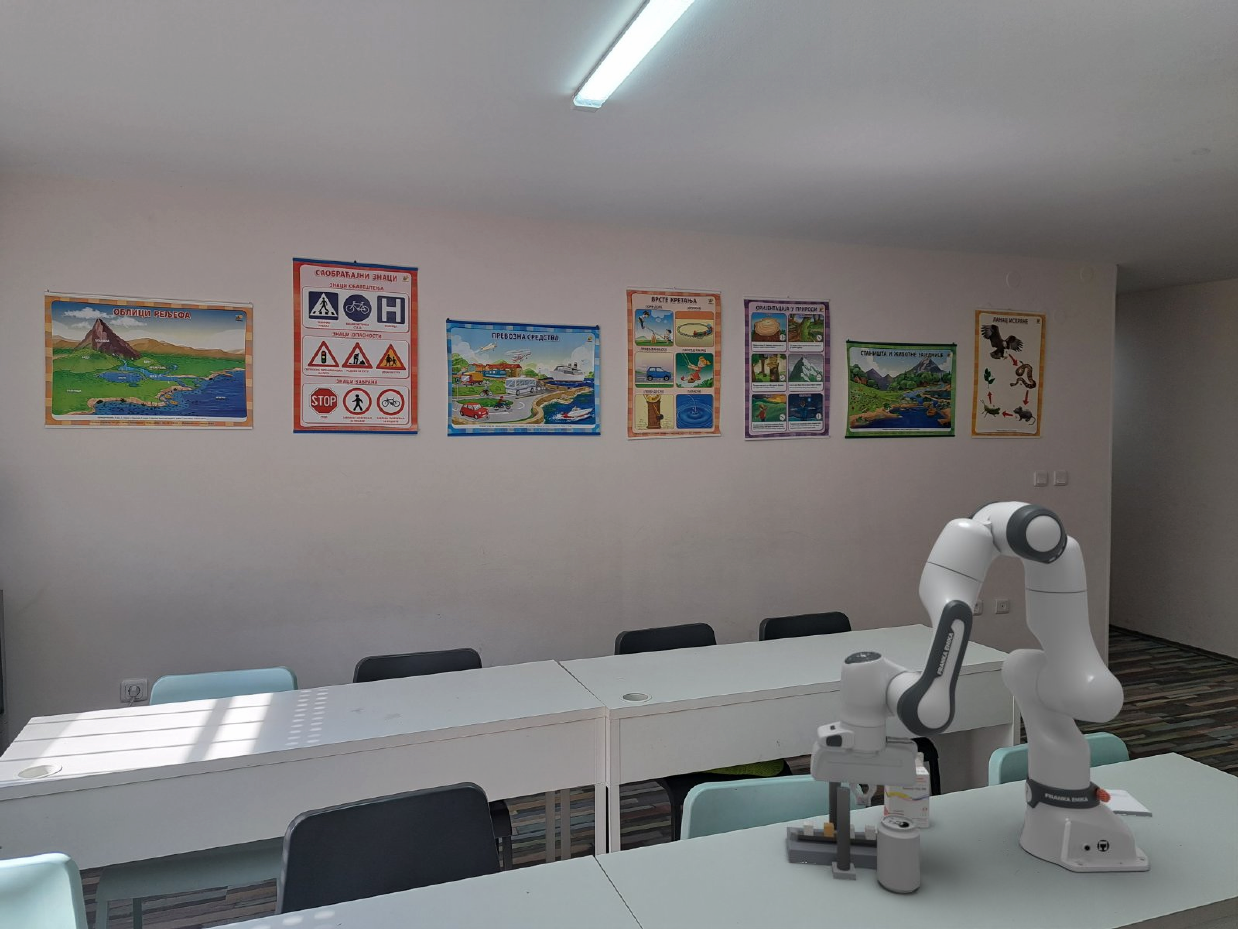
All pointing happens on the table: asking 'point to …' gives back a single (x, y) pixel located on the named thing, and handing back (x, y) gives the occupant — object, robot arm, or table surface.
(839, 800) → the post
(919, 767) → the ink cartridge box
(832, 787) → the disc
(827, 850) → the breaker panel
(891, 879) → the can
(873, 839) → the breaker paddles
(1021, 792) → the table surface
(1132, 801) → the external hard drive
